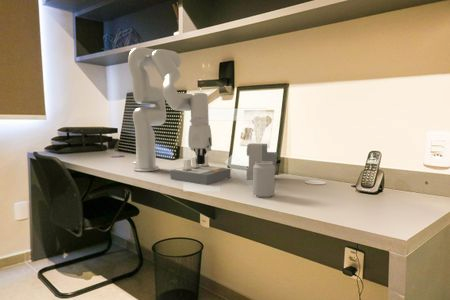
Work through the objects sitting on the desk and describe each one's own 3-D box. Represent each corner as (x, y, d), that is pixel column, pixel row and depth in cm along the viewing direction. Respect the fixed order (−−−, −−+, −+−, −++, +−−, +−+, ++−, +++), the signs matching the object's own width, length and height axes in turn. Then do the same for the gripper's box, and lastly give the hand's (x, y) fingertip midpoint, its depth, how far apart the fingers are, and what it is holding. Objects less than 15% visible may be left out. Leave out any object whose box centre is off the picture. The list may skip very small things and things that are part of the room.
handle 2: (200, 165, 150) (200, 156, 149) (204, 165, 152) (204, 155, 152) (205, 166, 148) (205, 156, 148) (209, 165, 151) (209, 156, 150)
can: (257, 199, 110) (258, 164, 109) (249, 193, 117) (250, 160, 116) (278, 197, 112) (278, 162, 111) (269, 192, 119) (269, 159, 118)
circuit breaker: (279, 180, 139) (280, 145, 137) (246, 179, 142) (246, 145, 140) (280, 177, 146) (281, 143, 144) (248, 176, 149) (248, 143, 147)
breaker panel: (170, 179, 143) (170, 169, 143) (196, 173, 157) (195, 163, 156) (206, 184, 132) (206, 173, 131) (230, 177, 146) (230, 167, 145)
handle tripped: (191, 167, 145) (191, 157, 145) (195, 166, 148) (195, 157, 147) (196, 168, 143) (195, 158, 143) (200, 167, 146) (200, 157, 145)
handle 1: (182, 169, 140) (182, 159, 139) (187, 168, 142) (187, 158, 142) (187, 170, 138) (187, 160, 138) (192, 169, 141) (192, 159, 140)
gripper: (181, 122, 143) (182, 163, 145) (208, 122, 134) (209, 166, 136) (192, 121, 149) (193, 161, 151) (218, 121, 140) (219, 164, 142)
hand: (201, 163), depth 143 cm, fingers closed
